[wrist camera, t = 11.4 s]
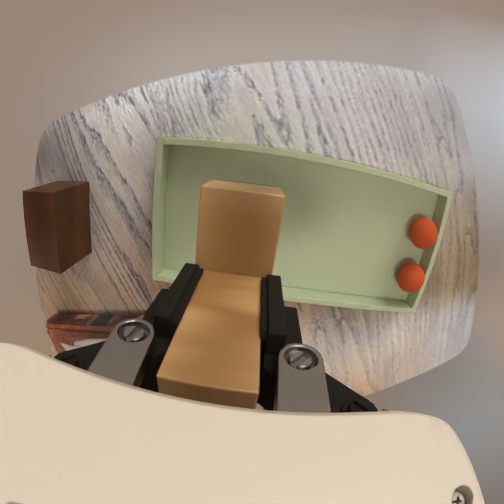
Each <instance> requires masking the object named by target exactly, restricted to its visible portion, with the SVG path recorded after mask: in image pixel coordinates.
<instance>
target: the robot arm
mask: <svg viewBox="0 0 504 504" xmlns="http://www.w3.org/2000/svg"><path fill="white" fill-rule="evenodd" d="M202 274H203V269H202V268H199V265H198V264H192V263H185V265H184V266H183V268H182V269H181V271H180V273H179V274H178V276H177V277H176V279H175V280H174V282H173V284H172V285H171V287H170V288H169V290H168V289H162V290H161V291H160V292H159V294H158V295H157V297H156V298H155V300H154V301H153V303H152V304H151V306H150V307H149V309H148V310H147V312H146V313H145V315H144V317H143V318H142V319H136V318H132V319H126V320H123V321H121V322H119V323H118V324H117V325H116V326H115V327H114V328H113V330H112V331H111V333H110V334H109V336H108V338H107V339H106V340H105V341H102V342H98V343H95V344H91V345H87V346H83V347H80V348H76V349H72V350H68V351H64V352H62V353H59V354H58V355H56V356H55V357H54V358H53V357H51V356H49V355H45V354H43V353H40V352H38V351H35V350H32V349H30V348H27V347H23V346H20V345H16V344H11V343H0V504H485V503H484V500H483V497H482V493H481V490H480V487H479V483H478V480H477V478H476V475H475V472H474V470H473V467H472V465H471V462H470V460H469V458H468V455H467V453H466V451H465V449H464V447H463V445H462V444H461V442H460V440H459V438H458V436H457V435H456V433H455V432H454V431H453V429H452V428H451V427H450V426H449V425H448V424H447V423H446V422H444V421H443V420H441V419H439V418H436V417H434V416H430V415H426V414H421V413H416V412H404V411H388V410H384V409H383V410H382V411H378V410H377V408H376V407H375V406H374V404H373V403H371V402H370V401H369V400H367V399H366V398H364V397H362V396H361V395H359V394H358V393H356V392H354V391H353V390H351V389H350V388H348V387H346V386H345V385H343V384H342V383H340V382H339V381H337V380H336V379H334V378H333V377H331V376H330V375H328V374H327V373H325V369H324V363H323V359H322V356H321V354H320V353H319V352H318V351H317V350H316V349H314V348H313V347H311V346H308V345H305V344H302V338H301V332H300V326H299V320H298V315H297V310H296V308H293V307H284V301H283V292H282V284H281V276H277V275H270V274H267V277H262V279H261V317H260V340H261V349H260V388H259V396H258V400H257V403H259V404H260V405H261V406H262V407H263V408H264V409H263V410H259V409H249V408H240V407H232V406H225V405H218V404H212V403H206V402H200V401H195V400H190V399H185V398H180V397H175V396H171V395H166V394H162V393H159V391H158V384H157V377H156V375H157V372H158V370H159V368H160V365H161V363H162V361H163V359H164V356H165V354H166V352H167V349H168V347H169V345H170V343H171V340H172V338H173V336H174V334H175V332H176V329H177V327H178V326H179V324H180V321H181V319H182V317H183V315H184V313H185V310H186V308H187V306H188V304H189V302H190V299H191V297H192V295H193V293H194V291H195V289H196V287H197V284H198V282H199V280H200V278H201V276H202Z"/></svg>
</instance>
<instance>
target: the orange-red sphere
mask: <svg viewBox="0 0 504 504" xmlns="http://www.w3.org/2000/svg"><path fill="white" fill-rule="evenodd" d="M424 280H425V275H424V271H423V269H422V268H421V267H420V266H419V265H418V264H416V263H407V264H404V265H403V266H402V267H401V268H400V269H399V271H398V274H397V282H398V285H399V287H400V288H401V289H402V290H403V291H405V292H408V293H413V292H416V291H418V290H419V289H420V288H421V287H422V285H423V283H424Z"/></svg>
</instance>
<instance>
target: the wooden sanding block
mask: <svg viewBox="0 0 504 504" xmlns="http://www.w3.org/2000/svg"><path fill="white" fill-rule="evenodd" d="M284 204H285V195H284V193H283V191H282V189H281V188H278V187H275V186H268V185H261V184H254V183H247V182H239V181H231V180H222V179H218V180H214V179H213V180H211V181H209V182H207V183H205V184H203V185H202V186H201V191H200V202H199V214H198V226H197V240H196V256H195V264H198V265H199V268H202V269H203V274H202V276H201V278H200V280H199V282H198V284H197V287H196V289H195V291H194V293H193V295H192V297H191V299H190V302H189V304H188V306H187V308H186V310H185V313H184V315H183V317H182V319H181V321H180V324H179V326H178V327H177V329H176V332H175V334H174V336H173V338H172V340H171V343H170V345H169V347H168V349H167V352H166V354H165V356H164V359H163V361H162V363H161V365H160V368H159V370H158V372H157V375H156V377H157V384H158V391H159V393H162V394H166V395H171V396H175V397H180V398H185V399H190V400H195V401H200V402H206V403H212V404H218V405H225V406H232V407H240V408H249V409H255V408H256V404H257V400H258V396H259V388H260V349H261V340H260V317H261V279H262V277H267V274H270V275H272V274H273V268H274V263H275V257H276V251H277V246H278V240H279V234H280V228H281V222H282V216H283V210H284Z"/></svg>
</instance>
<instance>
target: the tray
mask: <svg viewBox="0 0 504 504" xmlns="http://www.w3.org/2000/svg"><path fill="white" fill-rule="evenodd" d="M213 179H214V180H218V179H222V180H231V181H239V182H247V183H254V184H261V185H268V186H275V187H278V188H281V189H282V191H283V193H284V195H285V204H284V210H283V216H282V222H281V228H280V234H279V240H278V246H277V251H276V257H275V263H274V268H273V274H272V275H277V276H281V284H282V292H283V301H291V302H299V303H307V304H316V305H324V306H334V307H343V308H353V309H364V310H375V311H387V312H400V313H415V310H416V308H417V306H418V303H419V301H420V299H421V296H422V294H423V291H424V289H425V286H426V283H427V281H428V278H429V275H430V273H431V270H432V267H433V264H434V261H435V258H436V255H437V252H438V249H439V245H440V242H441V239H442V235H443V232H444V228H445V224H446V221H447V217H448V213H449V209H450V204H451V200H452V195H453V193H451V192H449V191H446V190H443V189H440V188H438V187H435V186H432V185H429V184H426V183H423V182H420V181H417V180H413V179H410V178H407V177H404V176H400V175H397V174H394V173H390V172H387V171H383V170H379V169H375V168H372V167H368V166H364V165H360V164H356V163H351V162H347V161H343V160H338V159H334V158H329V157H324V156H319V155H314V154H309V153H303V152H298V151H292V150H286V149H280V148H273V147H266V146H259V145H251V144H243V143H234V142H224V141H213V140H200V139H184V138H159V137H158V138H157V148H156V159H155V171H154V187H153V209H152V279H153V280H156V281H162V282H167V283H173V282H174V280H175V279H176V277H177V276H178V274H179V273H180V271H181V269H182V268H183V266H184V265H185V263H192V264H195V256H196V240H197V226H198V214H199V202H200V191H201V186H202V185H203V184H205V183H207V182H209V181H211V180H213ZM418 218H428V219H430V220H431V221H433V222H434V224H435V225H436V227H437V231H438V237H437V240H436V242H435V244H434V245H433V246H432V247H430V248H428V249H420V248H417V247H416V246H414V245H413V243H412V242H411V240H410V237H409V229H410V226H411V224H412V223H413V222H414V221H415V220H416V219H418ZM407 263H416V264H418V265H419V266H420V267H421V268H422V269H423V271H424V275H425V280H424V283H423V285H422V287H421V288H420V289H419V290H418V291H416V292H413V293H408V292H405V291H403V290H402V289H401V288H400V287H399V285H398V282H397V274H398V271H399V269H400V268H401V267H402V266H403V265H404V264H407Z"/></svg>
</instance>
